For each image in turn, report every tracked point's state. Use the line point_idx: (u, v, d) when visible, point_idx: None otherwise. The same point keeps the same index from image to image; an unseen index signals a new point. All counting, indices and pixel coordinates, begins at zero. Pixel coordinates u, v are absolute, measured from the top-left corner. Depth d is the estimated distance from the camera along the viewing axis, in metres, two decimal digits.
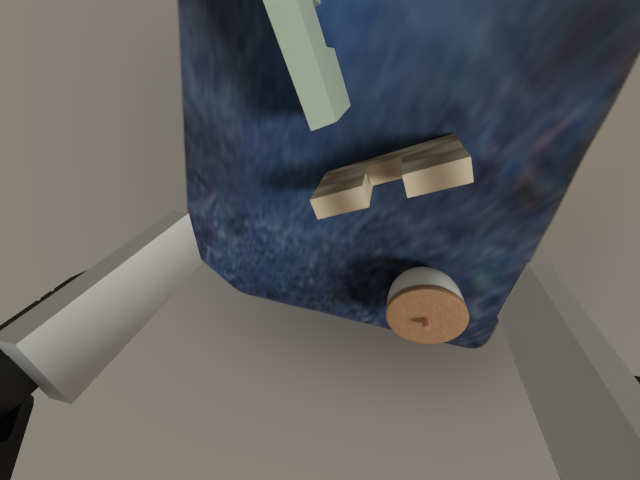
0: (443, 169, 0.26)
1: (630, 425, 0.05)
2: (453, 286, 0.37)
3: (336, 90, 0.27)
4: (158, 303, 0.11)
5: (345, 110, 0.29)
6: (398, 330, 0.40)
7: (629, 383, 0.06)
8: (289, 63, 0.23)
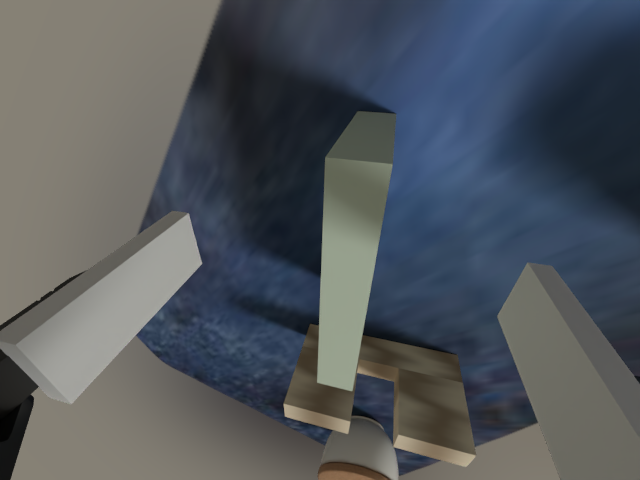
0: (443, 450, 0.23)
1: (630, 425, 0.05)
2: (394, 467, 0.36)
3: None
4: (158, 303, 0.11)
5: None
6: None
7: (629, 383, 0.06)
8: (323, 333, 0.16)
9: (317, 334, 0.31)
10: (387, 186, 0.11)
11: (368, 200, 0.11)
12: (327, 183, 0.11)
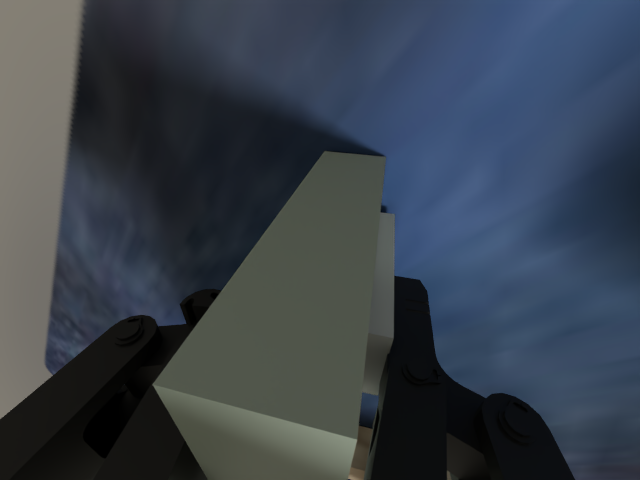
0: None
1: None
2: None
3: None
4: None
5: None
6: None
7: (388, 274, 0.09)
8: None
9: None
10: (346, 467, 0.03)
11: (298, 473, 0.04)
12: (183, 425, 0.04)
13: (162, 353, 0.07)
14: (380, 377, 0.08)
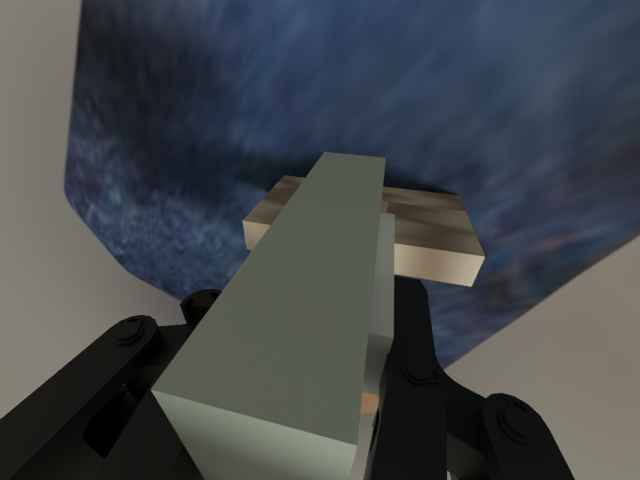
0: (442, 257, 0.18)
1: None
2: None
3: None
4: None
5: None
6: None
7: (387, 274, 0.09)
8: None
9: (292, 181, 0.26)
10: (346, 473, 0.03)
11: (298, 478, 0.04)
12: (182, 429, 0.04)
13: (162, 353, 0.07)
14: (380, 377, 0.08)
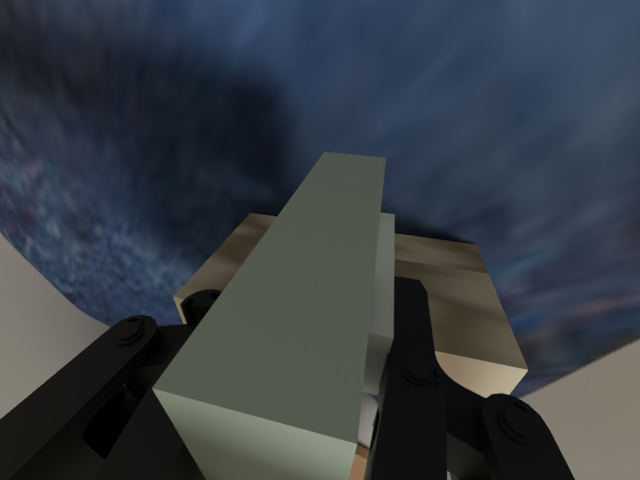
0: (462, 364, 0.12)
1: None
2: None
3: None
4: None
5: None
6: None
7: (388, 275, 0.09)
8: None
9: (258, 222, 0.20)
10: (346, 471, 0.03)
11: (298, 477, 0.04)
12: (183, 428, 0.04)
13: (162, 353, 0.07)
14: (380, 377, 0.08)
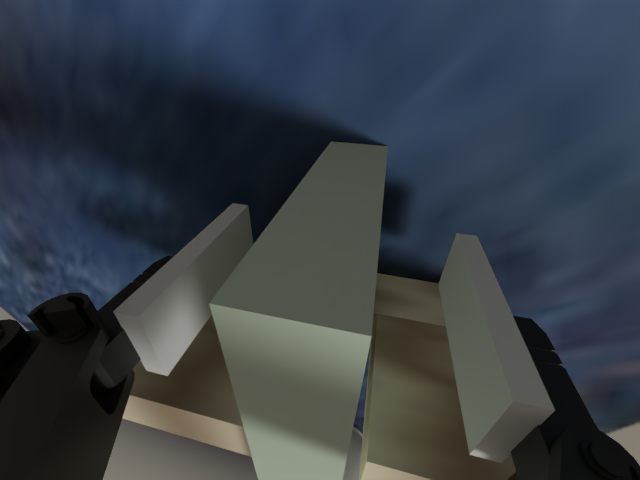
0: None
1: (494, 343, 0.07)
2: None
3: None
4: None
5: None
6: None
7: (505, 317, 0.07)
8: None
9: None
10: (361, 370, 0.04)
11: (321, 385, 0.05)
12: (227, 346, 0.05)
13: (22, 359, 0.07)
14: (515, 446, 0.06)
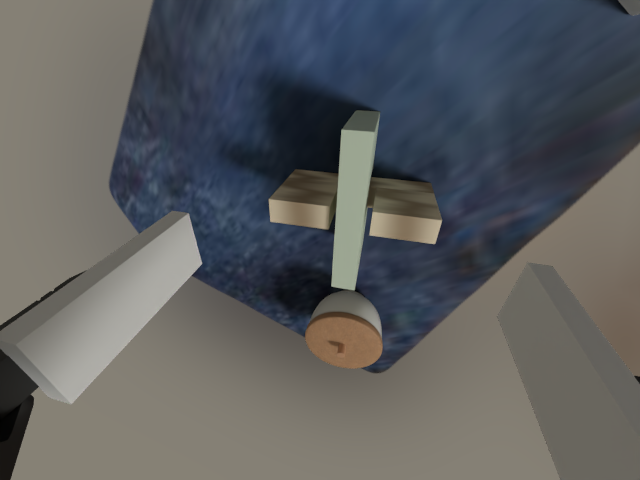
0: (413, 222, 0.25)
1: (630, 425, 0.05)
2: (377, 321, 0.38)
3: None
4: (158, 303, 0.11)
5: None
6: (313, 347, 0.40)
7: (629, 383, 0.06)
8: (336, 244, 0.27)
9: (302, 173, 0.33)
10: (372, 144, 0.21)
11: (363, 152, 0.22)
12: (342, 143, 0.22)
13: None
14: None
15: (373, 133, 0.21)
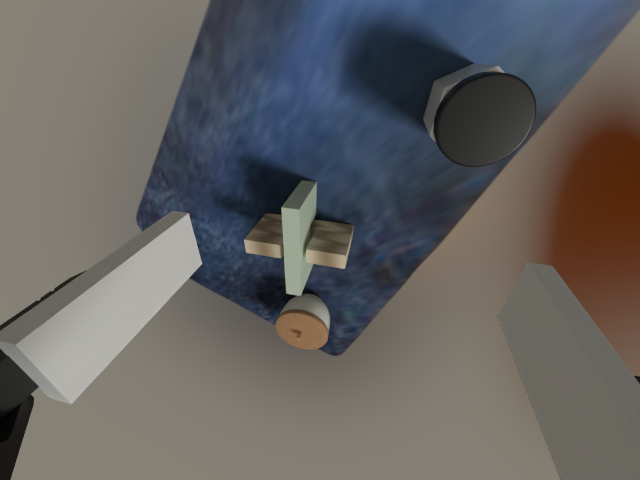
0: (330, 256, 0.41)
1: (630, 425, 0.05)
2: (325, 316, 0.55)
3: (307, 269, 0.48)
4: (158, 303, 0.11)
5: (309, 273, 0.51)
6: (281, 334, 0.56)
7: (629, 383, 0.06)
8: (286, 267, 0.43)
9: (269, 217, 0.49)
10: (298, 215, 0.37)
11: (294, 219, 0.38)
12: (282, 214, 0.38)
13: None
14: None
15: (298, 210, 0.37)
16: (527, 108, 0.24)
